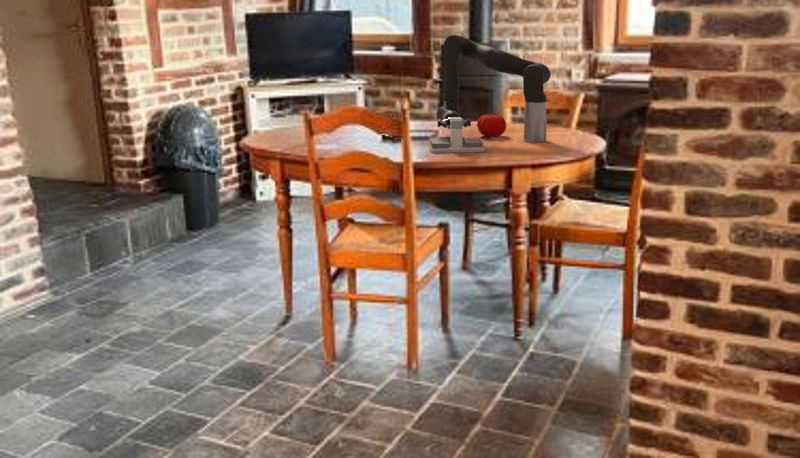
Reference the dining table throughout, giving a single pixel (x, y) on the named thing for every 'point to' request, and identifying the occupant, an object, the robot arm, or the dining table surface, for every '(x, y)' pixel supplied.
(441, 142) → the rack board
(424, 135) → the dining table surface
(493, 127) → the tomato
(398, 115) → the ammunition clip
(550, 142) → the dining table surface
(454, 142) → the grey module
